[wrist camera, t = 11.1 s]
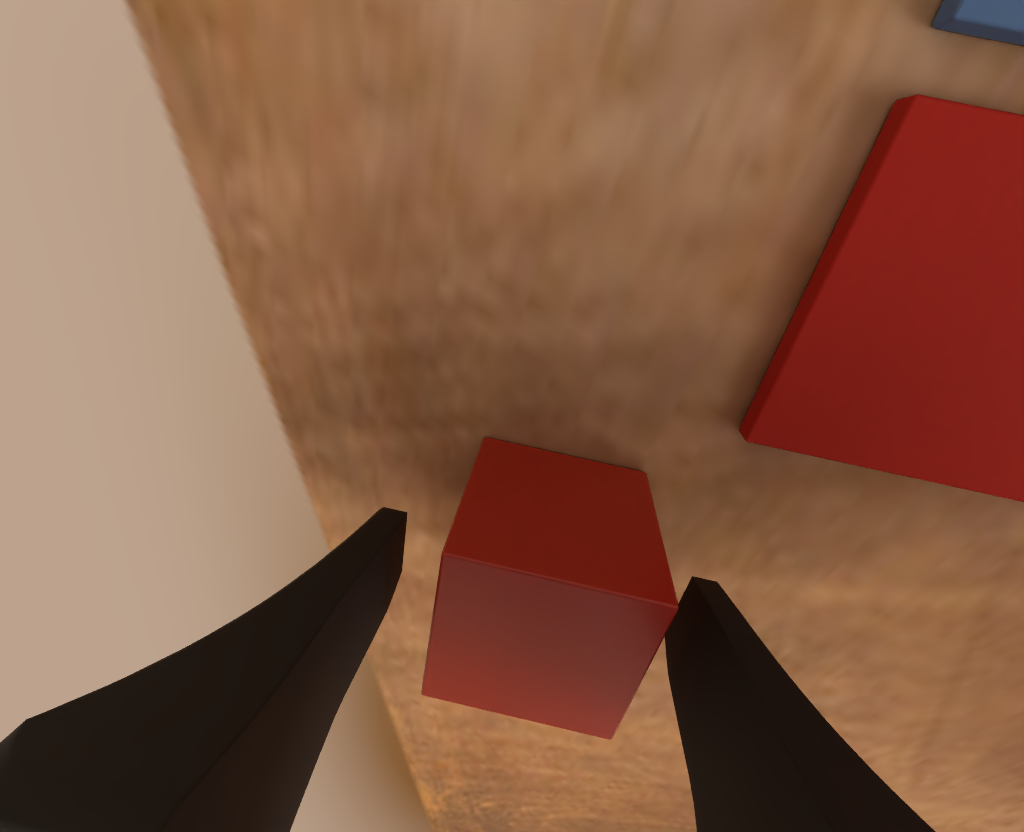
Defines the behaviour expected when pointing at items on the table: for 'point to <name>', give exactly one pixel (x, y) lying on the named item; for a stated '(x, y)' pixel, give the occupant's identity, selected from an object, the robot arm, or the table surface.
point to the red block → (549, 590)
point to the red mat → (915, 311)
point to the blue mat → (983, 19)
